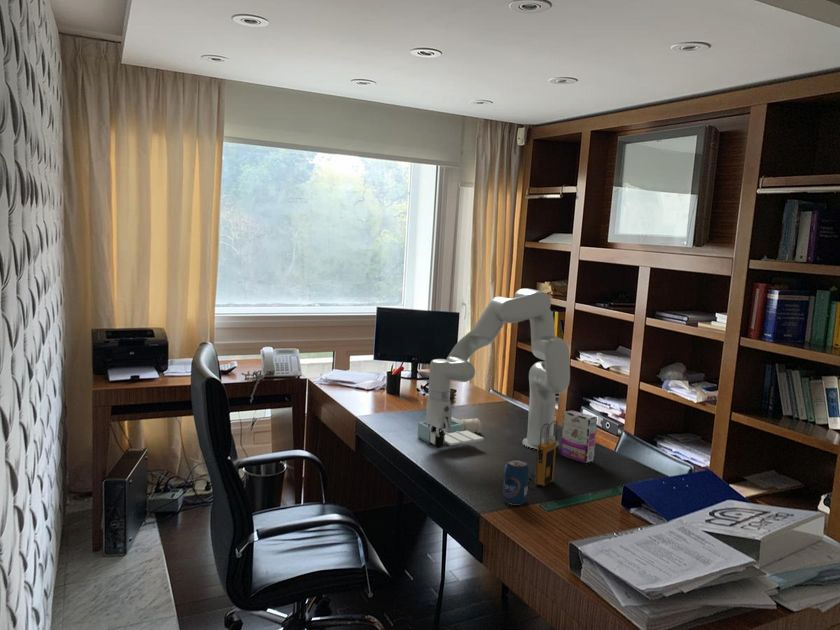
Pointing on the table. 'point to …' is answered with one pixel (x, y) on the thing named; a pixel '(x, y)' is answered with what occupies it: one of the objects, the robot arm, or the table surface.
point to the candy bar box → (578, 435)
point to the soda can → (515, 481)
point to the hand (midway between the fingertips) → (436, 445)
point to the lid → (457, 437)
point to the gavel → (470, 424)
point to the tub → (455, 426)
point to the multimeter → (545, 460)
